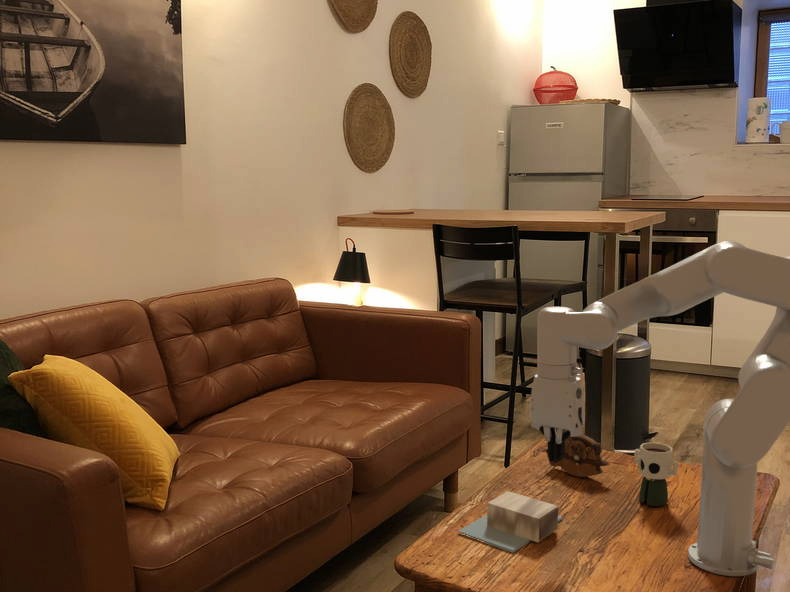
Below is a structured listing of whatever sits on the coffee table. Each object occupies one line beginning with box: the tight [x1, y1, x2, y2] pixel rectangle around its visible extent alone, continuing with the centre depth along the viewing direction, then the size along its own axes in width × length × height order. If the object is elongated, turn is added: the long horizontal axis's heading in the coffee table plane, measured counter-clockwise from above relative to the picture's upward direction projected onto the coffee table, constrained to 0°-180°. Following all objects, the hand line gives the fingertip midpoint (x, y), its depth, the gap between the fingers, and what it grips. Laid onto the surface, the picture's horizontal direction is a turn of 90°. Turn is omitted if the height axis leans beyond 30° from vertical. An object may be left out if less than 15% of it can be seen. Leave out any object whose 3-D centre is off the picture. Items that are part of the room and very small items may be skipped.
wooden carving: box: [545, 434, 611, 478], centre depth 199 cm, size 16×5×10 cm, turn 53°
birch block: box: [486, 490, 559, 543], centre depth 169 cm, size 5×8×12 cm
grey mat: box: [457, 514, 563, 554], centre depth 171 cm, size 13×20×1 cm, turn 141°
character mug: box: [633, 442, 679, 507], centre depth 182 cm, size 11×7×13 cm, turn 38°
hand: (556, 460), depth 163 cm, fingers closed
